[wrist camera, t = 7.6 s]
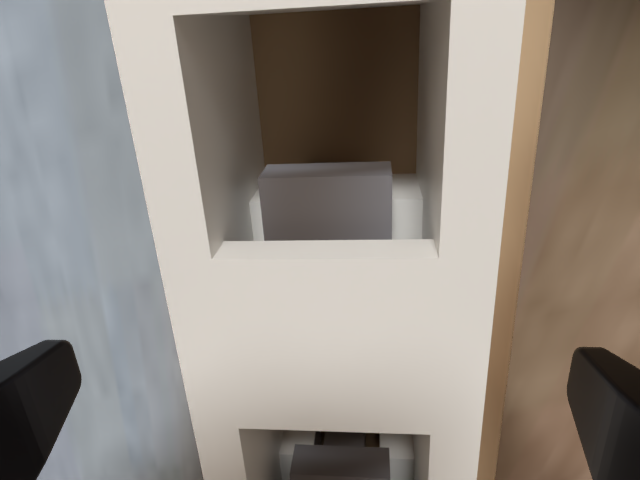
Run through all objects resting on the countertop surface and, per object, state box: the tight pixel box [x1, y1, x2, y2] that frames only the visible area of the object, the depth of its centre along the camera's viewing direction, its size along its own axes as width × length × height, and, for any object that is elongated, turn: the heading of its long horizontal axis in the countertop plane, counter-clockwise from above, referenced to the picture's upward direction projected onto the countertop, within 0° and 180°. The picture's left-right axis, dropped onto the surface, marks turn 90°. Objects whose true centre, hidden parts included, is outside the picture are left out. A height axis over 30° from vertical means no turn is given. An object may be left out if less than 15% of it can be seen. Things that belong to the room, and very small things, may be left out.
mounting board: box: [249, 0, 555, 480], centre depth 14 cm, size 10×20×5 cm, turn 3°
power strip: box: [104, 0, 526, 480], centre depth 12 cm, size 18×6×5 cm, turn 3°
